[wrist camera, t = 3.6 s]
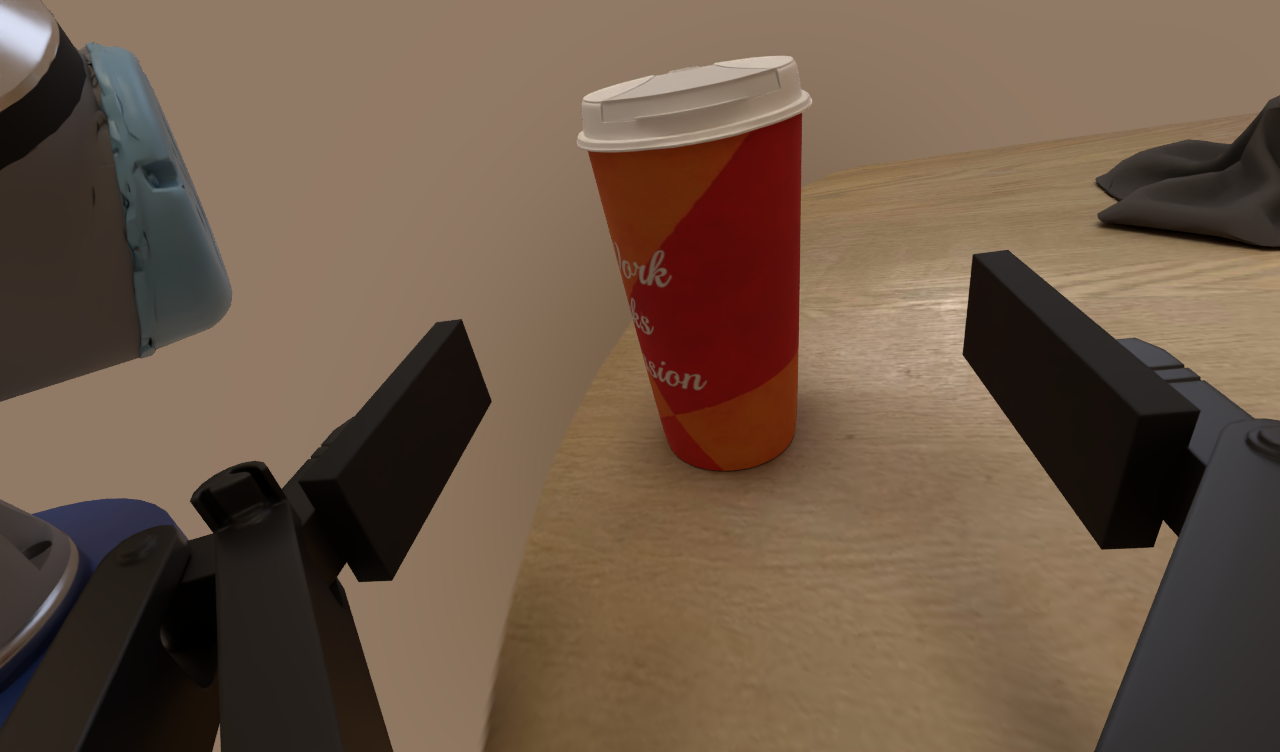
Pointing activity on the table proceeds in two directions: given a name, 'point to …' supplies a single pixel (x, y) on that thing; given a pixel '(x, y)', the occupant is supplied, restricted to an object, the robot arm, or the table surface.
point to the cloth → (1205, 185)
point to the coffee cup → (709, 246)
